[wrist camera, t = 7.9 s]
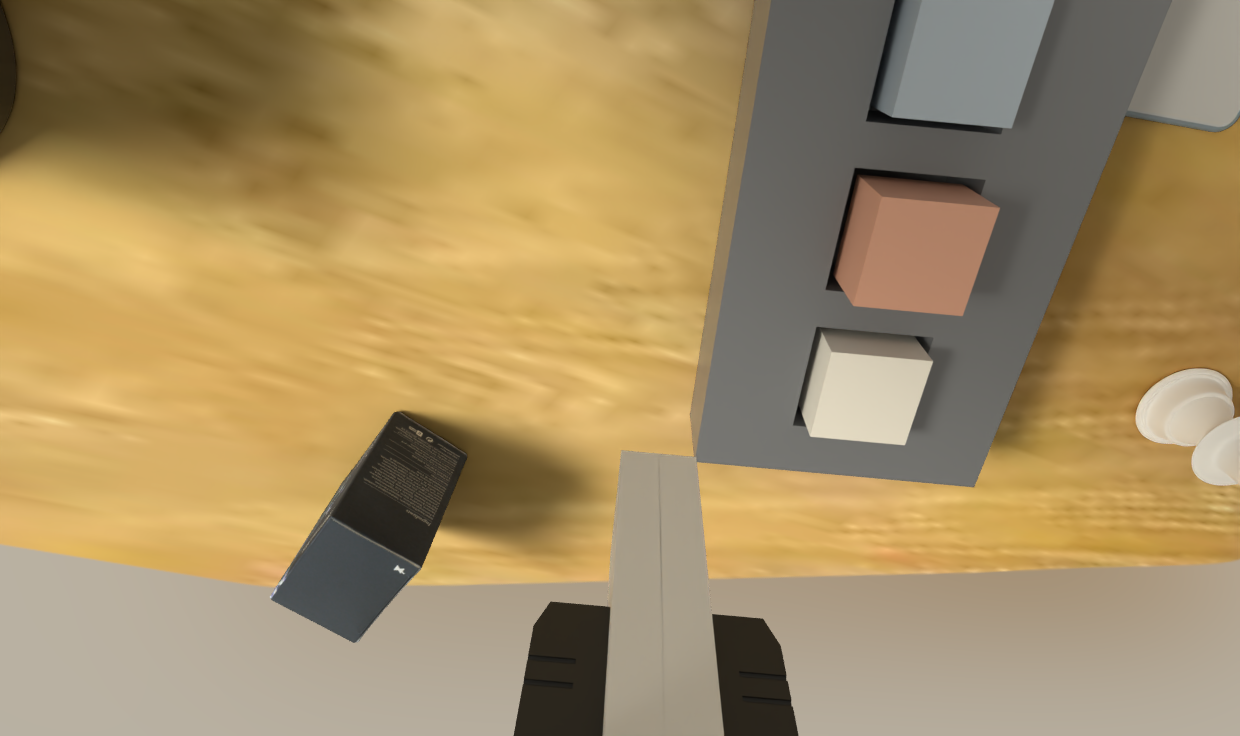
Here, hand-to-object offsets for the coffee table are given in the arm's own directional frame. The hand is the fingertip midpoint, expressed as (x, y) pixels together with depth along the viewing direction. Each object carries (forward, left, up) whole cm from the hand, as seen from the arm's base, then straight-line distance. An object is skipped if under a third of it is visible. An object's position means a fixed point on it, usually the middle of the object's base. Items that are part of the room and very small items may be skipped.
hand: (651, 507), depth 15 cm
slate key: (+12, +8, -24) cm, 28 cm away
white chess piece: (+34, -10, -27) cm, 44 cm away
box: (-14, -20, -27) cm, 37 cm away
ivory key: (+12, -8, -24) cm, 28 cm away
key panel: (+12, 0, -26) cm, 29 cm away
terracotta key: (+12, 0, -22) cm, 25 cm away
